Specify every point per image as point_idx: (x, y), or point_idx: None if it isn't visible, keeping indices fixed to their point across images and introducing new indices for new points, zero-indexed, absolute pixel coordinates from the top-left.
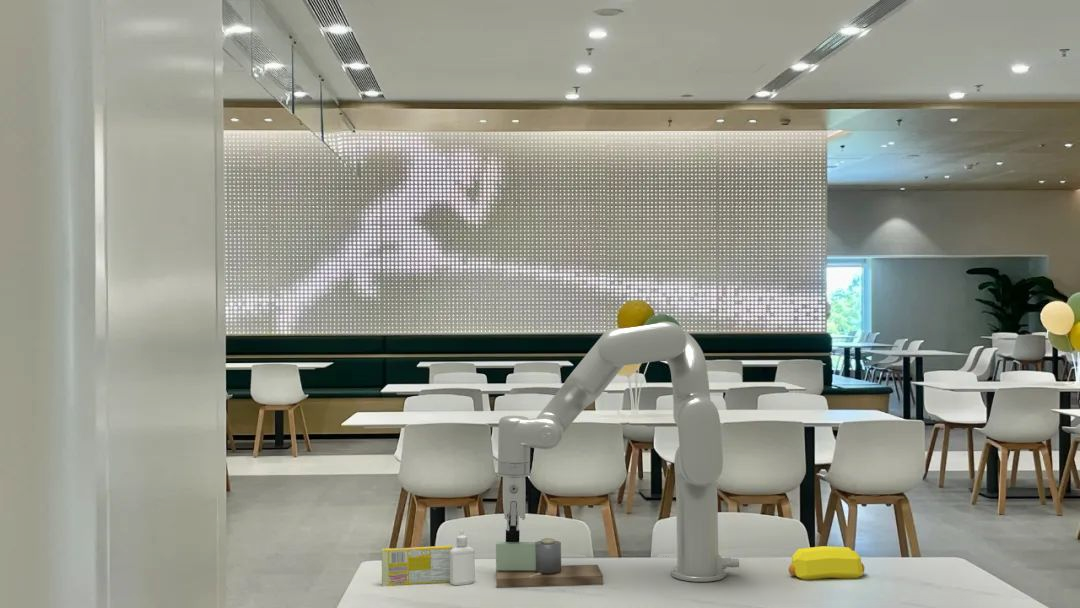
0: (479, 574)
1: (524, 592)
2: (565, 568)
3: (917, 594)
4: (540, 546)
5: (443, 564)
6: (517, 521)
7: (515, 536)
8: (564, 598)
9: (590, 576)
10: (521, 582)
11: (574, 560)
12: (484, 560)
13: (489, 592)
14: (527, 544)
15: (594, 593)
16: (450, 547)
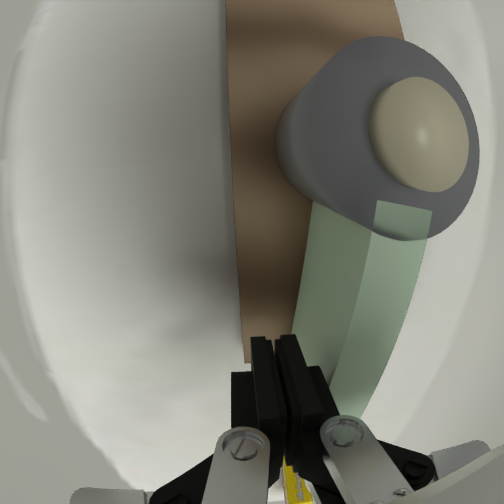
0: (217, 385)
1: (441, 244)
2: (285, 63)
3: None
4: (462, 203)
5: None
6: (400, 487)
7: (332, 402)
8: (489, 139)
9: (396, 13)
10: None
11: (41, 71)
12: (62, 363)
13: (413, 337)
14: (409, 294)
15: (454, 50)
16: (312, 501)
